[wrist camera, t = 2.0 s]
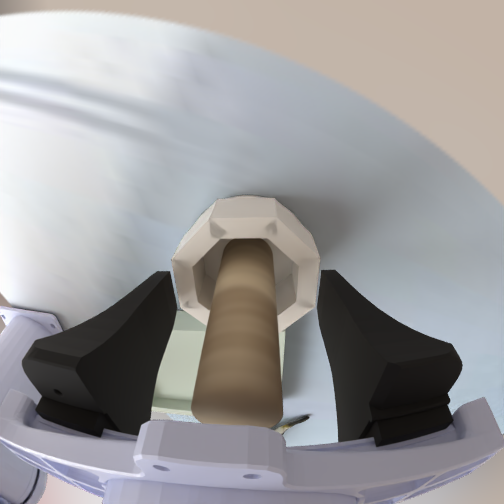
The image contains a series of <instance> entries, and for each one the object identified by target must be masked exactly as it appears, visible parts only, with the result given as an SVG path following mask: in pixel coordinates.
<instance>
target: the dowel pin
mask: <svg viewBox="0 0 504 504" xmlns="http://www.w3.org/2000/svg"><path fill="white" fill-rule="evenodd" d="M191 412H192V414H193V415H194V417H195V418H196V419H197V420H198V421H200V422H201V423H204V424H220V425H249V426H258V427H267V428H271V427H273V426H275V425H276V424H277V423H279V421H280V420H281V419H282V417H283V399H282V381H281V364H280V347H279V332H278V317H277V302H276V289H275V275H274V262H273V253H272V250H271V248H270V246H269V245H268V243H267V242H266V241H264V240H263V239H261V238H234V239H232V240H231V241H229V242H228V244H227V245H226V246H225V248H224V251H223V255H222V259H221V264H220V268H219V272H218V277H217V281H216V286H215V290H214V295H213V300H212V304H211V309H210V314H209V318H208V323H207V328H206V333H205V337H204V342H203V347H202V352H201V357H200V362H199V367H198V372H197V377H196V382H195V387H194V392H193V398H192V403H191Z"/></svg>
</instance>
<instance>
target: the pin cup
mask: <svg viewBox="0 0 504 504" xmlns="http://www.w3.org/2000/svg"><path fill="white" fill-rule="evenodd" d="M234 238H261V239H263V240H264V241H266V242H267V243H268V245H269V246H270V248H271V250H272V253H273V262H274V275H275V289H276V302H277V317H278V332H279V333H280V332H282V331H283V330H284V329H286V328H287V327H289V326H290V325H291V324H293V323H294V322H296V321H297V320H298V319H300V318H301V317H302V316H304V315H305V314H306V313H308V312H309V311H310V310H312V309H313V308H315V301H316V293H317V284H318V275H319V265H320V256H319V253H318V250H317V247H316V245H315V242H314V239H313V237H312V234H311V233H310V232H309V231H308V230H307V229H306V228H305V227H304V226H303V225H302V224H301V223H300V221H299V220H298V218H297V217H296V216H295V215H294V214H293V213H292V212H291V211H290V210H289V209H287V208H286V207H285V206H283V205H282V204H280V203H279V202H278V201H277V200H276V199H275V198H274V197H273V198H265V197H261V196H255V195H240V196H234V197H229V198H227V199H217V200H216V201H215V202H214V203H213V204H212V205H211V207H209V208H208V209H207V210H206V211H205V212H204V213H203V214H202V215H201V216H200V217H199V218H198V220H197V221H196V223H195V224H194V225H193V226H192V227H191V228H190V229H189V230H188V232H187V233H186V234H185V235H184V236H183V238H182V240H181V242H180V243H179V245H178V247H177V249H176V251H175V253H174V255H173V257H172V259H171V261H172V267H173V272H174V277H175V283H176V288H177V293H178V298H179V303H180V308H182V309H183V310H184V311H186V312H187V313H189V314H190V315H192V316H193V317H194V318H196V319H197V320H199V321H200V322H202V323H203V324H204V325H206V326H207V323H208V318H209V314H210V309H211V304H212V300H213V295H214V290H215V286H216V281H217V277H218V272H219V268H220V264H221V259H222V255H223V251H224V248H225V246H226V245H227V244H228V242H229V241H231V240H232V239H234Z"/></svg>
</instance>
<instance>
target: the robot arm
mask: <svg viewBox="0 0 504 504" xmlns="http://www.w3.org/2000/svg"><path fill="white" fill-rule="evenodd" d="M317 312H318V319H319V326H320V330H321V334H322V337H323V341H324V345H325V348H326V352H327V355H328V359H329V363H330V367H331V371H332V377H333V384H334V392H335V401H336V411H337V424H338V443H330V444H320V445H309V446H294V447H286V441H285V439H284V437H283V435H282V434H280V433H279V432H276V431H274V430H271V429H269V428H267V427H258V426H249V425H220V424H204V423H192V422H182V421H173V420H150V418H151V409H152V403H153V396H154V390H155V385H156V380H157V375H158V371H159V368H160V364H161V361H162V358H163V356H164V353H165V350H166V347H167V344H168V341H169V339H170V336H171V333H172V330H173V327H174V323H175V318H176V313H177V304H176V299H175V294H174V289H173V284H172V279H171V274H170V271H157V272H156V273H154V274H153V275H151V276H150V277H149V278H148V279H146V280H145V281H144V282H143V283H141V284H140V285H139V286H138V287H137V288H135V289H134V290H133V291H132V292H130V293H129V294H128V295H126V296H125V297H124V298H122V299H121V300H120V301H118V302H117V303H116V304H114V305H113V306H111V307H110V308H108V309H107V310H105V311H104V312H102V313H100V314H99V315H97V316H95V317H93V318H91V319H89V320H87V321H85V322H84V323H82V324H80V325H78V326H75V327H73V328H71V329H68V330H66V331H63V330H62V328H61V326H60V324H59V322H58V320H57V318H56V317H55V316H54V315H53V314H49V313H42V312H36V311H29V310H23V309H17V308H11V307H5V306H0V315H1V317H2V319H3V321H4V323H5V325H6V328H5V329H4V330H3V332H2V333H1V334H0V504H37V503H38V502H39V500H40V499H41V497H42V495H43V493H44V491H45V488H46V483H47V473H48V474H50V475H52V476H54V477H56V478H58V479H60V480H62V481H64V482H66V483H68V484H71V485H73V486H75V487H77V488H80V489H82V490H84V491H87V492H89V493H92V494H94V495H97V496H99V497H102V498H103V501H102V504H396V503H399V502H402V501H405V500H408V499H411V498H414V497H416V496H419V495H422V494H424V493H426V492H429V491H431V490H434V489H436V488H439V487H441V486H444V485H446V484H448V483H451V482H453V481H455V480H457V479H460V478H462V477H464V476H466V475H468V474H470V473H472V472H473V471H475V470H476V469H477V468H479V467H480V466H481V465H483V464H484V463H485V462H487V461H488V460H489V459H490V458H492V457H493V456H494V455H495V454H496V453H498V452H499V451H500V450H501V449H502V448H503V447H504V439H503V436H502V434H501V431H500V429H499V427H498V424H497V422H496V420H495V418H494V415H493V413H492V411H491V409H490V407H489V405H488V403H487V401H486V399H485V397H482V398H479V399H477V400H474V401H471V402H468V403H466V404H464V405H462V406H460V407H459V408H458V409H457V410H456V411H455V412H454V414H453V415H451V412H450V410H449V408H448V405H447V404H449V403H450V398H449V396H448V394H447V393H448V392H449V391H450V389H451V388H452V386H453V385H454V383H455V382H456V380H457V379H458V377H459V375H460V373H461V371H462V366H463V365H462V361H461V359H460V357H459V355H458V354H457V352H456V350H455V348H454V347H453V345H452V344H451V343H447V342H444V341H441V340H438V339H435V338H432V337H429V336H427V335H425V334H422V333H420V332H418V331H416V330H413V329H411V328H409V327H408V326H406V325H404V324H402V323H400V322H398V321H397V320H395V319H393V318H392V317H390V316H389V315H387V314H386V313H384V312H383V311H381V310H380V309H379V308H377V307H376V306H375V305H373V304H372V303H371V302H370V301H368V300H367V299H366V298H365V297H364V296H362V295H361V294H360V293H359V292H358V291H357V290H356V289H355V288H354V287H353V286H351V285H350V284H349V283H348V282H347V281H346V280H345V279H344V278H343V277H342V276H341V275H340V274H339V273H338V272H337V271H336V270H321V278H320V287H319V295H318V303H317Z"/></svg>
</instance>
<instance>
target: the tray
mask: <svg viewBox="0 0 504 504" xmlns="http://www.w3.org/2000/svg"><path fill="white" fill-rule="evenodd" d="M206 328H207V326H206V325H204V324H203V323H202V322H200V321H199V320H197V319H196V318H194V317H193V316H192V315H190V314H189V313H187V312H186V311H178V310H177V313H176V318H175V323H174V327H173V330H172V333H171V336H170V339H169V341H168V344H167V347H166V350H165V353H164V356H163V358H162V361H161V364H160V368H159V371H158V375H157V380H156V385H155V390H154V396H153V403H152V409H151V411H155V412H163V413H170V414H179V415H189V416H194V415H193V414H192V412H191V403H192V398H193V392H194V387H195V382H196V377H197V372H198V367H199V362H200V357H201V352H202V347H203V342H204V337H205V333H206ZM284 346H285V329H284V330H283V331H282V332H280V333H279V347H280V364H281V381H282V373H283V360H284Z"/></svg>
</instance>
